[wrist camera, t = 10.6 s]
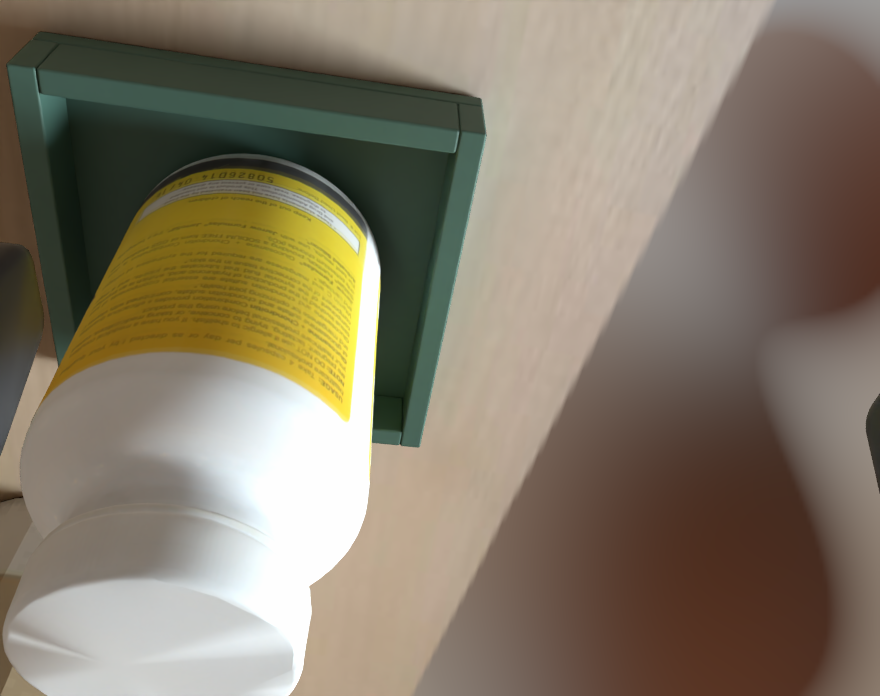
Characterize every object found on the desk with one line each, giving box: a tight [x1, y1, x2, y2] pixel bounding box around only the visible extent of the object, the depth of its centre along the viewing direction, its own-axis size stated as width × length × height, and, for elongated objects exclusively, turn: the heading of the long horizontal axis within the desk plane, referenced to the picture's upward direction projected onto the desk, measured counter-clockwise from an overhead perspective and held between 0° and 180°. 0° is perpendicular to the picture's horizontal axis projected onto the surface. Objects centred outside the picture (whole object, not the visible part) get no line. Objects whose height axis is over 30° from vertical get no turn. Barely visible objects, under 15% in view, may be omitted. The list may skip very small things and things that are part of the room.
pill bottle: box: [2, 153, 381, 696], centre depth 18 cm, size 6×6×12 cm
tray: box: [6, 32, 487, 447], centre depth 22 cm, size 10×10×2 cm
